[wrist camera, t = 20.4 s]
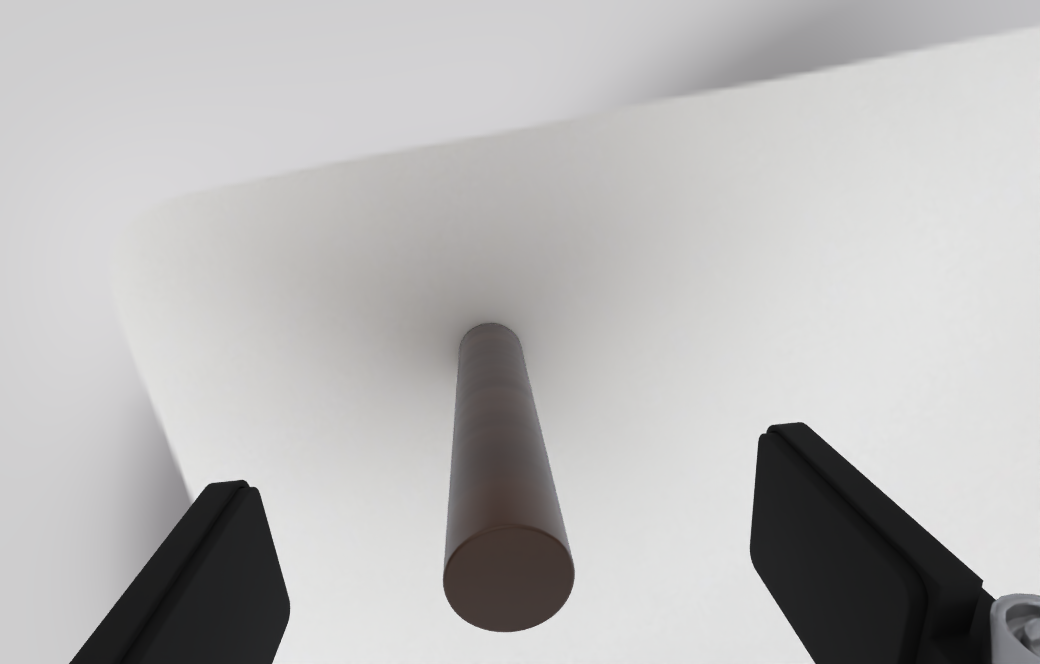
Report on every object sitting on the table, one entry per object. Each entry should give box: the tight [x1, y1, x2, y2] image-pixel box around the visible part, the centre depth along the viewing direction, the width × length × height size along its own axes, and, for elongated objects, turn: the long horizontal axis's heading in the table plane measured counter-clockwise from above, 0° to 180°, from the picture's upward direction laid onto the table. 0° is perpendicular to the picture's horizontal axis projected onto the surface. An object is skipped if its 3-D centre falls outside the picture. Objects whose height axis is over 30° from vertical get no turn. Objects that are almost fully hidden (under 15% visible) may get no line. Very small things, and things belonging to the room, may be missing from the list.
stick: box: [443, 323, 575, 632], centre depth 16 cm, size 2×2×12 cm
